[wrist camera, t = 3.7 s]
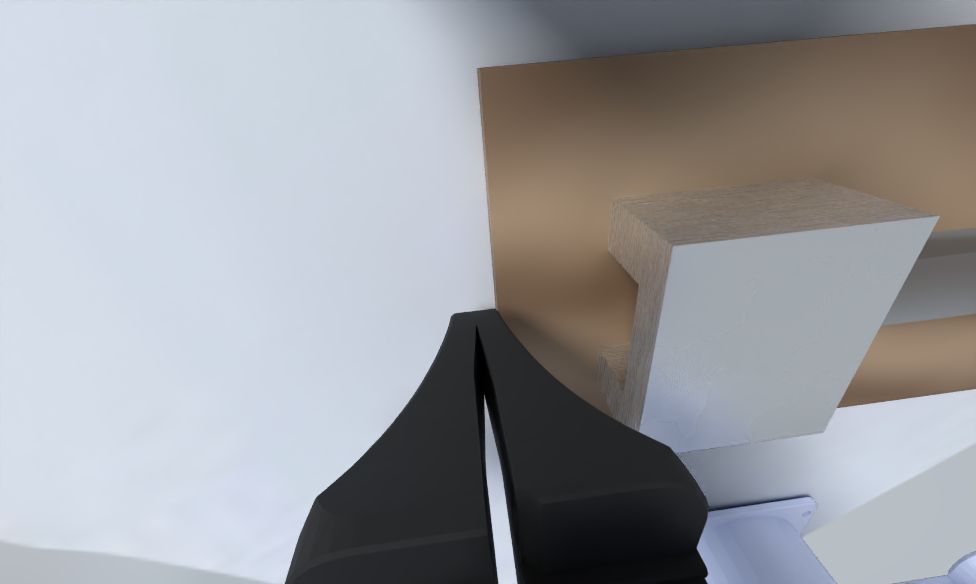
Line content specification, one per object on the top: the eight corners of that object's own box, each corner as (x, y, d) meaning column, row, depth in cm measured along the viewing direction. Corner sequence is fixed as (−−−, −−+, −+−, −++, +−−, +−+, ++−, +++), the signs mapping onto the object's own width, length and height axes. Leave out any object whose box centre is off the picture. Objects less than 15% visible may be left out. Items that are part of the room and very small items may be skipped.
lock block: (748, 360, 15) (823, 432, 12) (595, 380, 15) (634, 459, 12) (812, 177, 11) (940, 215, 8) (612, 199, 11) (673, 246, 8)
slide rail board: (975, 373, 18) (1133, 465, 14) (505, 437, 17) (526, 557, 13) (1255, -1, 11) (1751, -42, 7) (477, 67, 10) (502, 69, 6)
